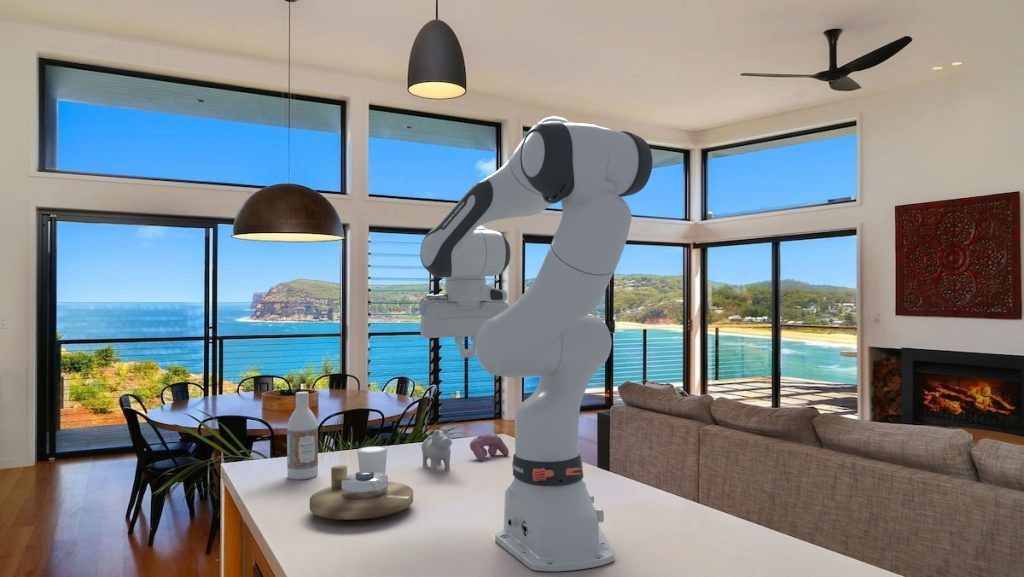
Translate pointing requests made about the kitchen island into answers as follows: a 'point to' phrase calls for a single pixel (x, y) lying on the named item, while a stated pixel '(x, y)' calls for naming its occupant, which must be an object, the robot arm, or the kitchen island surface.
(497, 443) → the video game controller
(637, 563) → the kitchen island surface
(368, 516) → the turntable
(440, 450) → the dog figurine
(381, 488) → the cover
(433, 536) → the kitchen island surface
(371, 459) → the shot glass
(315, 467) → the bath foam
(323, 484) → the kitchen island surface
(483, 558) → the kitchen island surface
